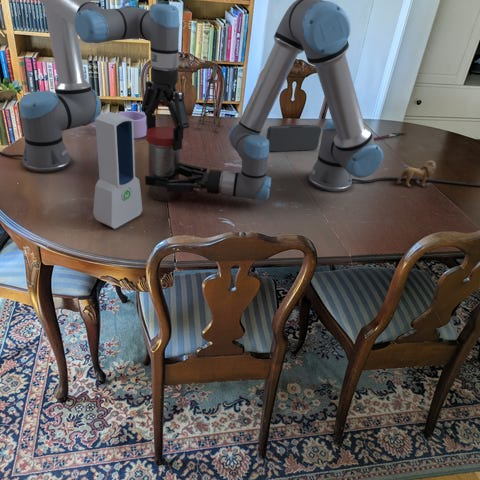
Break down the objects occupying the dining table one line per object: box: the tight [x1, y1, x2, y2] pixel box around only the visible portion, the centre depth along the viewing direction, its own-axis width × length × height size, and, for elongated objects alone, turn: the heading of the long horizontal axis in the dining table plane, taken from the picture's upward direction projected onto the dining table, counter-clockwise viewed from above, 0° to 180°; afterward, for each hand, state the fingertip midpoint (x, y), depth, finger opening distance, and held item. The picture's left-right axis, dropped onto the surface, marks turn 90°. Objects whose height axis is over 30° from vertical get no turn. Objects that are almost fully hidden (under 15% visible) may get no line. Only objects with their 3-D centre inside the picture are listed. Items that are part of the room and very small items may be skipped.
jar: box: [148, 142, 181, 202], centre depth 144 cm, size 9×9×20 cm
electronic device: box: [92, 111, 143, 230], centre depth 126 cm, size 12×8×30 cm, turn 148°
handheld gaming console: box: [265, 124, 322, 152], centre depth 189 cm, size 23×3×10 cm, turn 108°
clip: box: [100, 110, 147, 139], centre depth 188 cm, size 20×12×7 cm, turn 109°
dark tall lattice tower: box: [196, 56, 221, 133], centre depth 196 cm, size 9×8×30 cm
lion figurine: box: [396, 159, 436, 188], centre depth 171 cm, size 15×5×9 cm, turn 110°
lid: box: [145, 125, 174, 147], centre depth 139 cm, size 10×10×2 cm
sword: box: [373, 132, 408, 141], centre depth 213 cm, size 31×3×1 cm, turn 126°
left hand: (164, 142), depth 140 cm, fingers open, 11 cm apart
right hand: (150, 173), depth 146 cm, fingers closed on jar, 9 cm apart
